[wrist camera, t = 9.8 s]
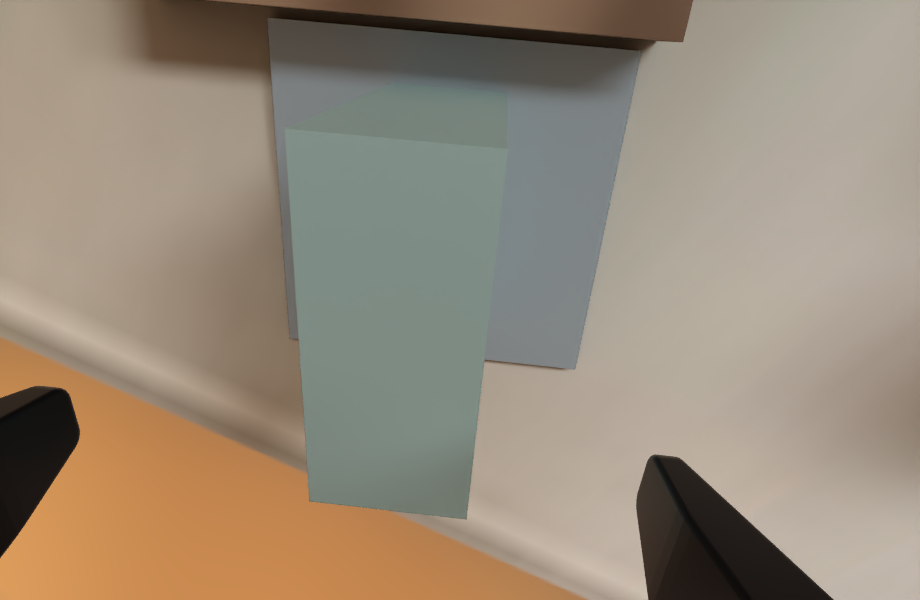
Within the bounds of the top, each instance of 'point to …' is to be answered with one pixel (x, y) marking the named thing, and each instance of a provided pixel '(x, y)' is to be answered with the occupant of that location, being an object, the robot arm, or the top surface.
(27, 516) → the robot arm
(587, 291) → the mat
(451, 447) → the tall sage green box
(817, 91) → the top surface
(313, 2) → the tray
